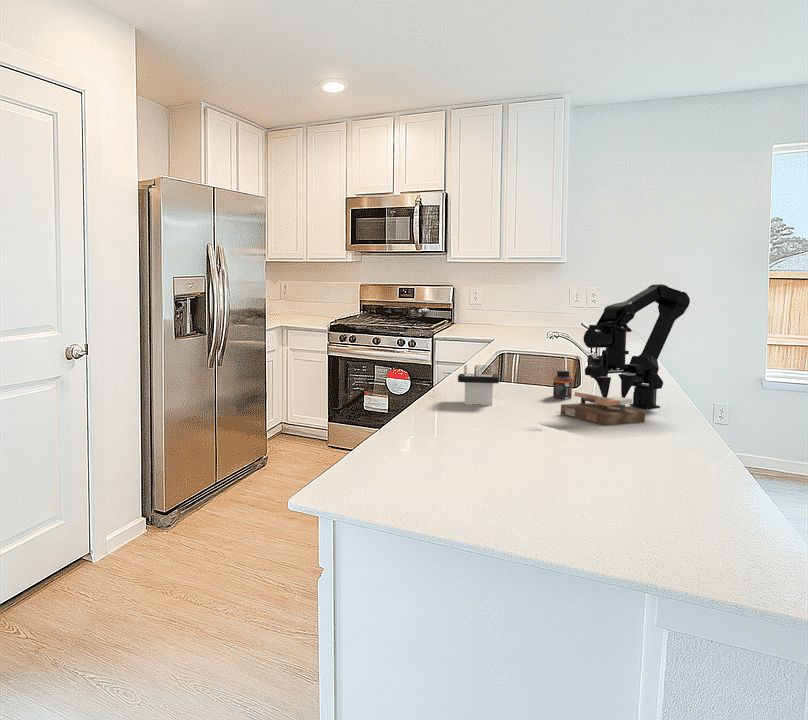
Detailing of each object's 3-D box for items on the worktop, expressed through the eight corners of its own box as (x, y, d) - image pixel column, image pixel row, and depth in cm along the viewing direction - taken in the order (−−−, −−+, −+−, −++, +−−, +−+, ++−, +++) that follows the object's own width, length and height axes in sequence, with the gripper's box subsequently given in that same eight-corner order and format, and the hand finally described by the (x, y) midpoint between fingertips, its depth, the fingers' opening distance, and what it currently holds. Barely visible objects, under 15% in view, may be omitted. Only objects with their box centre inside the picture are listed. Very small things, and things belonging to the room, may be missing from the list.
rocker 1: (595, 402, 179) (596, 395, 179) (609, 405, 174) (610, 398, 174) (572, 398, 176) (574, 391, 176) (586, 401, 170) (587, 394, 170)
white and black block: (521, 402, 200) (522, 363, 199) (524, 414, 174) (525, 370, 173) (439, 399, 205) (439, 361, 204) (430, 411, 179) (430, 368, 178)
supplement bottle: (572, 406, 193) (573, 371, 192) (553, 405, 194) (554, 371, 193) (570, 403, 199) (571, 370, 198) (552, 402, 200) (553, 369, 199)
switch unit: (599, 411, 182) (600, 395, 182) (644, 421, 166) (645, 404, 166) (559, 414, 176) (560, 397, 176) (602, 425, 160) (603, 407, 159)
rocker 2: (617, 403, 171) (618, 396, 171) (633, 406, 166) (633, 399, 166) (593, 406, 167) (593, 399, 167) (608, 409, 162) (608, 402, 162)
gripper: (619, 345, 188) (617, 393, 190) (573, 346, 181) (571, 396, 182) (646, 347, 178) (644, 398, 179) (598, 348, 170) (597, 401, 172)
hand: (614, 398), depth 178 cm, fingers open, 7 cm apart
